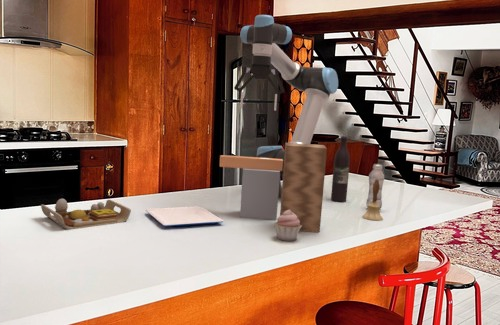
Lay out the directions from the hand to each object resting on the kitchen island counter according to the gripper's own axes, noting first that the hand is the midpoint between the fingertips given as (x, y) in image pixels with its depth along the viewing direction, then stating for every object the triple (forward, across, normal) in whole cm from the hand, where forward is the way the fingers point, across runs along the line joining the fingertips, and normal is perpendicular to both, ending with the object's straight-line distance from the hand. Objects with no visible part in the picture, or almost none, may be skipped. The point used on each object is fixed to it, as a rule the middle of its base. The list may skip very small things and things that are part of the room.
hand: (258, 109), depth 205 cm
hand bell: (+41, +49, -3) cm, 64 cm away
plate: (+41, -24, -26) cm, 54 cm away
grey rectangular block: (+41, +3, -12) cm, 42 cm away
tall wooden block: (+41, +18, -25) cm, 51 cm away
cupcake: (+41, +13, -41) cm, 59 cm away
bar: (+22, -1, -12) cm, 25 cm away
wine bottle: (+41, +40, +27) cm, 63 cm away
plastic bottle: (+41, +53, +13) cm, 68 cm away
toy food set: (+41, -57, -35) cm, 78 cm away
